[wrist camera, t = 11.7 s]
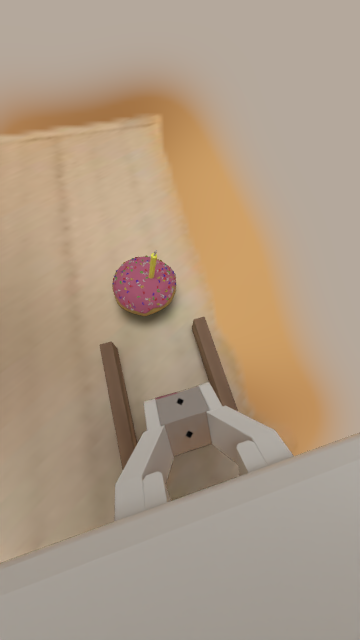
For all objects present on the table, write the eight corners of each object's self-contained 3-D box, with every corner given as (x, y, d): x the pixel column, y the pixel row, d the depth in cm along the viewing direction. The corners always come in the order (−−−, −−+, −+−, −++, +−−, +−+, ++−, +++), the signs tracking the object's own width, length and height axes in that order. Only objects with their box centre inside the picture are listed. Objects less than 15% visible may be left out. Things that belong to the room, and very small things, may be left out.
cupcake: (175, 275, 39) (175, 219, 28) (176, 325, 36) (177, 285, 25) (120, 275, 39) (99, 219, 28) (117, 326, 36) (91, 286, 24)
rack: (129, 469, 29) (124, 476, 26) (106, 351, 34) (99, 344, 31) (238, 433, 31) (246, 435, 28) (201, 325, 36) (204, 316, 33)
